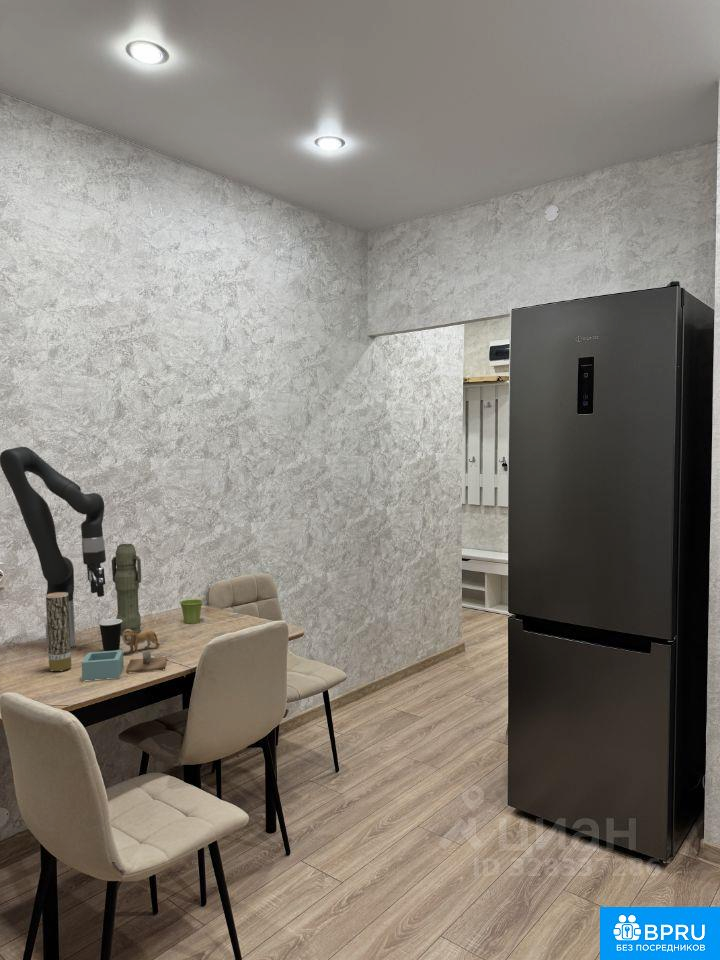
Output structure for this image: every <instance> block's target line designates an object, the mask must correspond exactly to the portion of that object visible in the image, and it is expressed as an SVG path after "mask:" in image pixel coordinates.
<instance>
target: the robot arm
mask: <svg viewBox="0 0 720 960" xmlns="http://www.w3.org/2000/svg"><path fill="white" fill-rule="evenodd" d="M0 468H1V471H2V473H3V474H4V477H5V479H6V481H7V482H8V484H9V487H10V488H11V490H12V493H13V495H14V498H15V499H16V502H17V505H18V508H19V509H20V513H21V515H22V518H23V521H24V523H25V526H26V529H27V531H28V534H29V536H30V538H31V541H32V543H33V545H34V547H35V550H36V553H37V555H38V561H39V564H40V568H41V571H42V575H43V578H44V579H45V580H46V581H47V582H46V585H47V587H46V593H45V596H46V595H47V594H50V593H57V592H67V593H68V600H69V622H70V644H71V647H72V648H74V647H75V646H76V630H75V629H76V627H75V624H76V623H75V609H74V608H75V607H74V606H75V605H74V604H75V603H74V593H75V575H74V574H75V573H74V572H75V571H74V570H75V569H74V565H73V563H72V560H70V559H69V558H68V557H66V556H63V555H62V552H61V550H60V548H59V544H58V541H57V533H56V526H55V521H54V518H53V515H52V512H51V509H50V506H49V505H48V502H47V501H46V500H45V499H44V498H43V497H42V495H41V494H40V493H38V492H37V491H36V490H35V489H34V488H33V486H32V485H31V484H30V483H29V482H30V481H29V480H28V478H27V476H26V473H27V472H29V473H31V474H34V475H36V476H37V477H39V478H40V480H42V481H43V483H44V484H45V486H46V488H47V489H48V490H49V491H50V492H51V493H52V494H54V495H56V496H58V497H59V498H61V499H62V500H63V501H66V503H67V504H68V505H69V506H70V507H71V508H72V509H73V510H74V512H75V511H76V512H77V513H79V514H81V515H85V517H86V518H85V520H84V521H83V522H82V523H81V525H80V530H81V531H80V532H81V550H82V562H83V564H84V565H86V569H87V570H86V571H87V580H88V582H89V586H90V593H91V594H96V596H97V597H98V598H101V597H104V596H105V588H104V586H105V585H106V577H105V568H104V567H102V565H101V564H102V563H105V562H106V561H107V559H106V557H107V556H106V547H105V540H104V533H103V532H104V531H103V520H104V513H105V502H104V499H103V497H102V496H101V495H100V493H96V492H91V493H84V492H82V490H81V489H82V488H81V486H80V485H78V484H77V483H76V482H74V481H73V480H71V479H69V478H68V477H66V476H65V475H63V474H61V473H60V472H59V471H57V470H56V469H55V468H53V467H52V465H50V464H49V463H48V462H47V461H45V460H44V459H43V458H42V457H41V456H39V454H38V453H36V452H35V451H34V450H32V449H31V448H29V447H27V446H18V447H13V448H8V449H5V450H3V451H2V452H1V453H0ZM45 638H46V639H45V640H46V650H47V649H48V634H47V623H46V624H45ZM73 646H74V647H73Z"/></svg>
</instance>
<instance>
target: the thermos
mask: <svg viewBox="0 0 720 960" xmlns="http://www.w3.org/2000/svg"><path fill="white" fill-rule="evenodd" d="M111 574H112V575H111V576H112V582H114V588H115V591H116V604H117V608H116V609H117V616H116V618H115V619H120V620H122V622H121V635H120V637H122V634H123V632H124V630H126V629H131V630H132V631H136V632H137V633H142V632H141V624H142V622H141V614H140V611H139V610H140V609H139V608H140V607H139V588H140V583H141V582H142V563H141V558H140V557H139V556H138V555H137V550H136V548H135V546H134V544H132V543H119V545H117V546H116V549H115V556H113V557H112V559H111Z"/></svg>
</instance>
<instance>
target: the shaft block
mask: <svg viewBox="0 0 720 960" xmlns="http://www.w3.org/2000/svg"><path fill="white" fill-rule="evenodd" d="M151 654H152V652H151V651H144V652H142V658H133V659H130V660H129V662H128V665H127V667H126V670H125V674H126V673H127V674H130V673H129V672H139V673H144V672H143V671H151V672H154V671H153V670H162V671H164V670H163V669H165V670H166V667H167V662H168V656H159V657H151V656H152V655H151ZM166 661H167V662H166ZM165 666H166V667H165Z"/></svg>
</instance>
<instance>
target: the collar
mask: <svg viewBox="0 0 720 960" xmlns="http://www.w3.org/2000/svg"><path fill="white" fill-rule="evenodd" d="M124 665H125V664H124V649H119V650H117V651H104V650H103V651H94V652H87V653H86V655H85V656H84V658H83V660H82V661H81V675H82V676H81V677H82V678H81V679H82V680H81V681H85V680H95V679H107V678H119V677H120V678H121V676H122V673H123V671H124V669H123V668H124V667H125V666H124ZM122 670H123V671H122ZM120 675H121V676H120ZM120 678H119V679H120ZM85 682H86V681H85Z"/></svg>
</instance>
